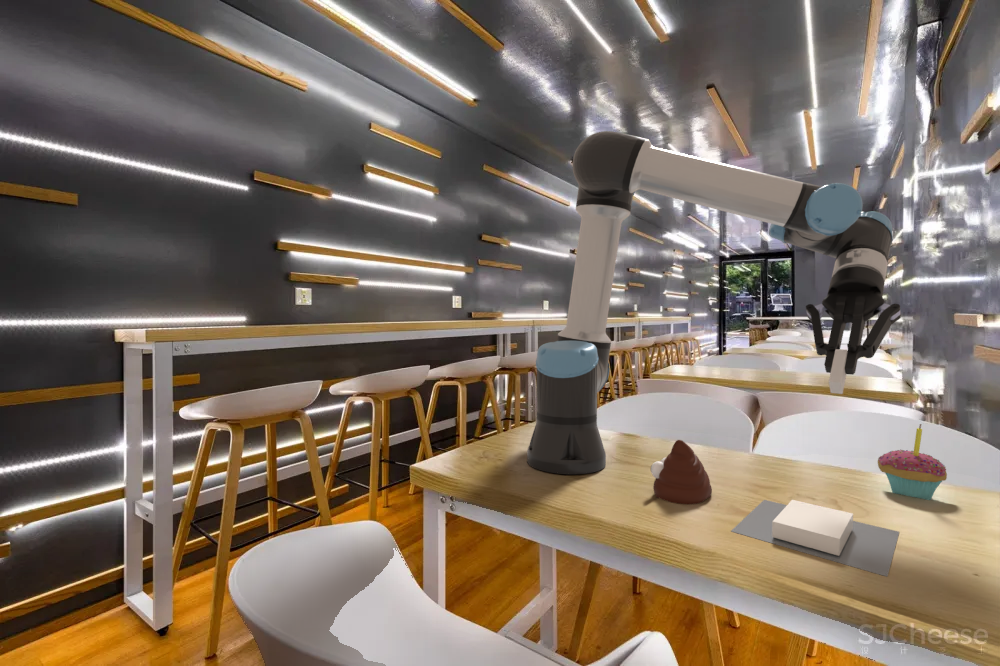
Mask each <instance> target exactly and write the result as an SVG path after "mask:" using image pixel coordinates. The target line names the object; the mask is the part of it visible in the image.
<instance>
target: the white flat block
mask: <svg viewBox="0 0 1000 666" xmlns="http://www.w3.org/2000/svg"><path fill="white" fill-rule="evenodd" d="M786 505H787V506H786V507H785V508H784V509H783V510H782V511H781V512H780V514H779V515H778V516H777V517H776V518H775V519H774V520H773V521H772V537H774V538H778V539H781V540H785V541H788V542H792V543H795V544H799V545H802V546H806V547H809V548H813V549H816V550H820V551H824V552H827V553H831V554H834V555H838V556H839V555H840V553H841V551H842V549H843V547H844V545H845V543H846V541H847V539H848V537H849V535H850V533H851V531H852V529H853V521H854V513H853V512H848V511H844V510H840V509H834V508H831V507H827V506H823V505H822V506H820V505H817V504H814V503H813V504H812V503H809V502H804V501H800V500H795V499H791V500H790V501H789V502H788V504H786Z"/></svg>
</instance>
